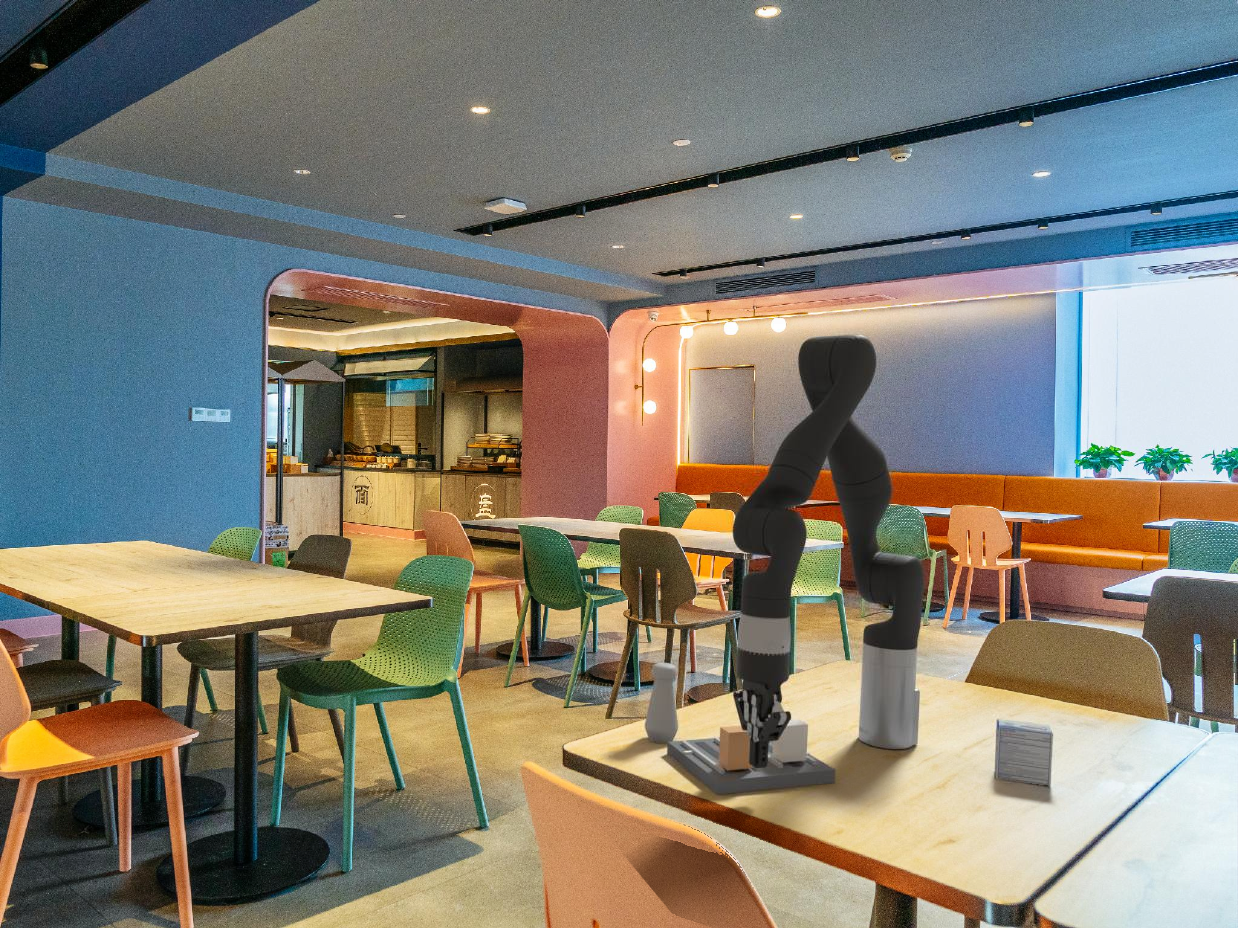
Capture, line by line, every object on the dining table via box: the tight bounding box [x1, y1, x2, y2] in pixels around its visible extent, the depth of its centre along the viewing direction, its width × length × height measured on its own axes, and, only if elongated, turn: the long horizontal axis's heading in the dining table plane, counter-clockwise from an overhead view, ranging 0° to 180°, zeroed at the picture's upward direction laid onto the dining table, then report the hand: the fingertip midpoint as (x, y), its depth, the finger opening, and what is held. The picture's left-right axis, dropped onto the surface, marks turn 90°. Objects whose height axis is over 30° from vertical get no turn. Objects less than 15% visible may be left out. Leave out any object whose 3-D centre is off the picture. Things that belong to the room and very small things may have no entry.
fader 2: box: [772, 718, 809, 763], centre depth 137 cm, size 4×3×6 cm, turn 111°
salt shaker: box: [644, 662, 680, 744], centre depth 151 cm, size 6×6×13 cm
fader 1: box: [719, 725, 753, 770], centre depth 133 cm, size 4×3×6 cm, turn 111°
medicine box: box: [994, 718, 1054, 787], centre depth 140 cm, size 8×4×9 cm, turn 71°
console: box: [666, 736, 836, 796], centre depth 139 cm, size 20×18×3 cm
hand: (758, 765), depth 126 cm, fingers closed
